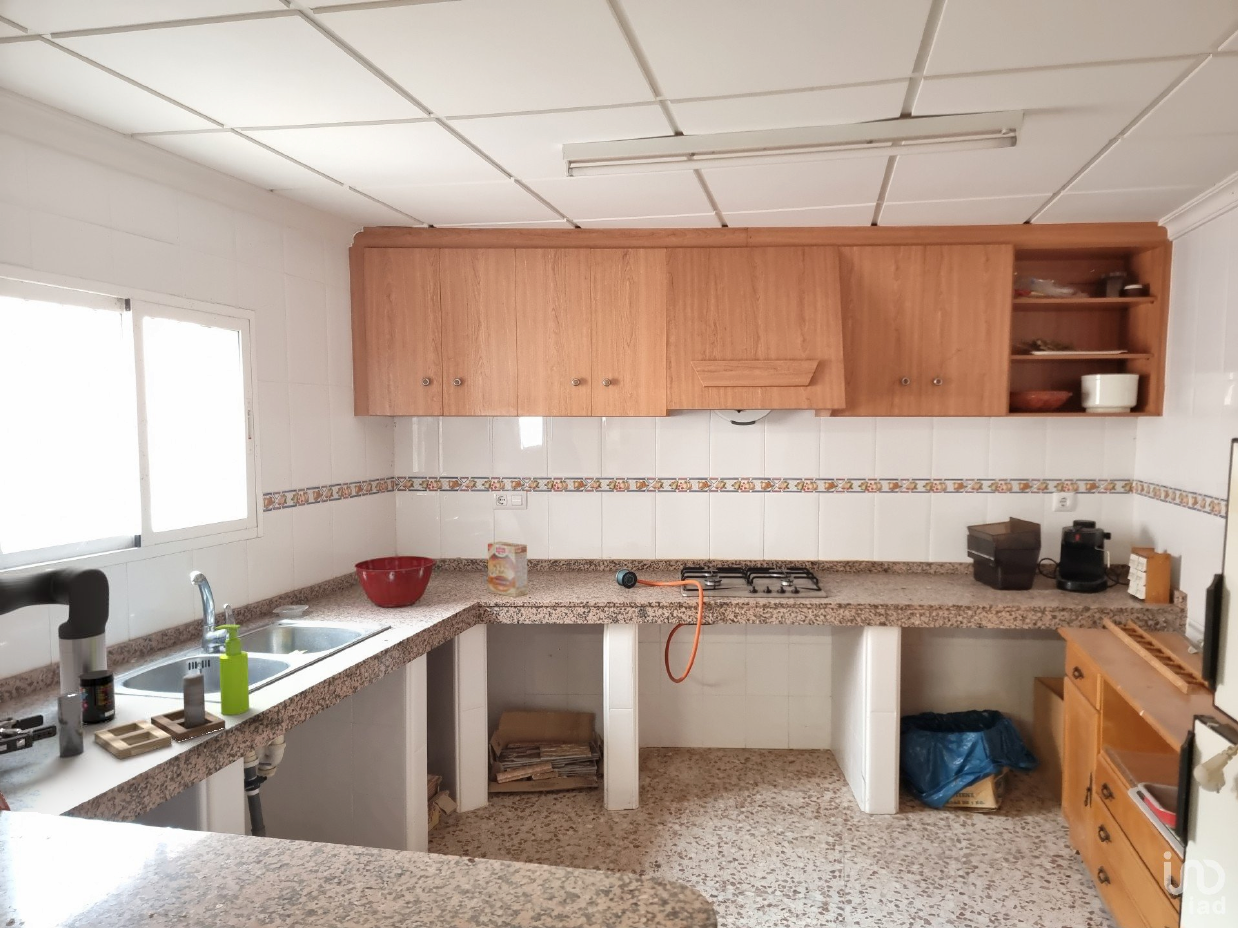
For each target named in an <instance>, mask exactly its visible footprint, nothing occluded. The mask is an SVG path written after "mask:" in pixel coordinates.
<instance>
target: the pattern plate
mask: <svg viewBox="0 0 1238 928" xmlns="http://www.w3.org/2000/svg"><path fill="white" fill-rule="evenodd" d="M182 690H183V691H182V693H183V708H181V709H177V710H176V709H175V710H174V711H170V712H166V713H161V714H158V715H154V716H151V717H150V723H151V724H152V725H154V726H156V727H157V728H159V729H161V730H162V731H164V732H166V733H167V734H169V735H171V739H173V738H174V740H175V739H176V740H175V741H176V742H178V741H181V742H183V741H182V740H185V739H188V740H190V739H189V738H191V737H195V736H199V737H201V736H200V735H202V734H205V735H207V734H206V733H208V732H212V731H214V730H219V729H221V728H225V729H226V720H225V719H223V718H221V717H219V716H217V715H215V714H213V713H212V712H209V711H207V710H206V704H205V703H206V702H205V675H204V674H203V673H191V674H187V675H185V676H183V677H182ZM219 731H220V730H219ZM212 733H213V732H212ZM202 736H203V735H202ZM195 738H196V737H195ZM185 741H186V740H185Z"/></svg>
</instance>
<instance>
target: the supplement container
mask: <svg viewBox="0 0 1238 928" xmlns="http://www.w3.org/2000/svg"><path fill="white" fill-rule="evenodd" d="M79 692H81V701H82V724H84V725H98V724H99V725H100V724H103V723H106V722H109V721H111V720H113V719H114V718H115V716H116V697H115V695H116V694H115V693H116V692H115V671H114V670H111V669H107V670H98V671H92V672H88V673H84V674H82V675H80V676H79Z"/></svg>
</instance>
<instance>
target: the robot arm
mask: <svg viewBox="0 0 1238 928" xmlns="http://www.w3.org/2000/svg"><path fill="white" fill-rule="evenodd" d="M42 605H61V606H62V605H63V606H68V619H67V620H66V621H64V622H62V623H61V624H59V626H58V629H57V631H58V632H57V635H58V636H57V637H58V651H59V653H58V656H59V657H58V658H59V674H60V675H59V677H60V679H59V680H60V695H61V694H64V693H69V692H79V676H80V675H82V674H84V673H88V672H92V671H98V670H108V663H107V660H108V659H107V641H106V640H107V639H106V626H107V623H108V620H109V616H110V585H109V579H108V577H107V575H106V574H105V572H104V571H102V570H101V569H99V568H96V567H91V566H90V567H89V566H80V565H79V566H78V565H70V566H65V567H64V566H63V567H58V568H55V569H54V568H53V569H49V570H44V571H38V572H33V573H0V616H3V615H6V614H9V613H12V612H14V611H17V610H19V609H22V608H26V607H32V606H42ZM44 722H45V721H44V715H42V714H37V715H31V716H28V717H24V718H18V717H17V718H14V717H13V716H9V717H6V718H2V719H0V756H2V755H5V754H9V753H14V752H15V753H16V752H19V751H22V750H26V749H30V748H33V744H34V743H35V742H38V741H42V740H45V739H49V738H53V737H54V738H55V737H56V736H57V734H58V732H57V731H58V728H57V727H58V726H57V725H56V724H50V725H46V726H43V725H44Z"/></svg>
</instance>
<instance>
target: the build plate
mask: <svg viewBox="0 0 1238 928" xmlns="http://www.w3.org/2000/svg"><path fill="white" fill-rule="evenodd" d="M93 740H94V742H96V743H97V744H99V745H100V746H102V748H104V749H106V750H107V751H109V752H110V753H112V754H113V755H114V756H116V757H117V758H118V759H120V760H122V759H125V758H129V757H132V756H135V755H139V754H143V753H145V752H150V751H153V749H154V750H157V749H160V748H159V747H161V748H164V747H167V746H166V745H168V746H170V745H169V744H171V743H172V737H171V735H169V734H167V733H166V732H164V731H162V730H161V729H159V728H157V727H156V726H154V725H152V724H151V722H148V721H147V720H146V719H144V718H142V719H139V720H134V721H131V722H127V723H123V724H120V725H115V726H112V727H108V728H104V729H100V730H97V731H94V732H93ZM171 745H172V744H171ZM156 748H157V749H156ZM149 750H150V751H149ZM142 752H143V753H142Z"/></svg>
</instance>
